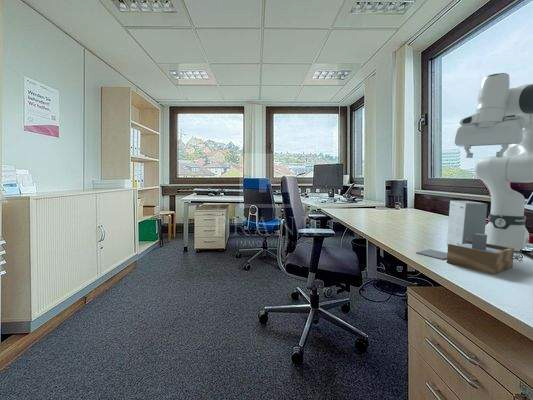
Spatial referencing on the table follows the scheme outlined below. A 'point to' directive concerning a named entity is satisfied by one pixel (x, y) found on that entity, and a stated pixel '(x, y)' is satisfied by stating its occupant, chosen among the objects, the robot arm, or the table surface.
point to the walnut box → (481, 258)
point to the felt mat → (434, 254)
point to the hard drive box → (465, 221)
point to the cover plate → (480, 243)
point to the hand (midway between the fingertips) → (483, 157)
